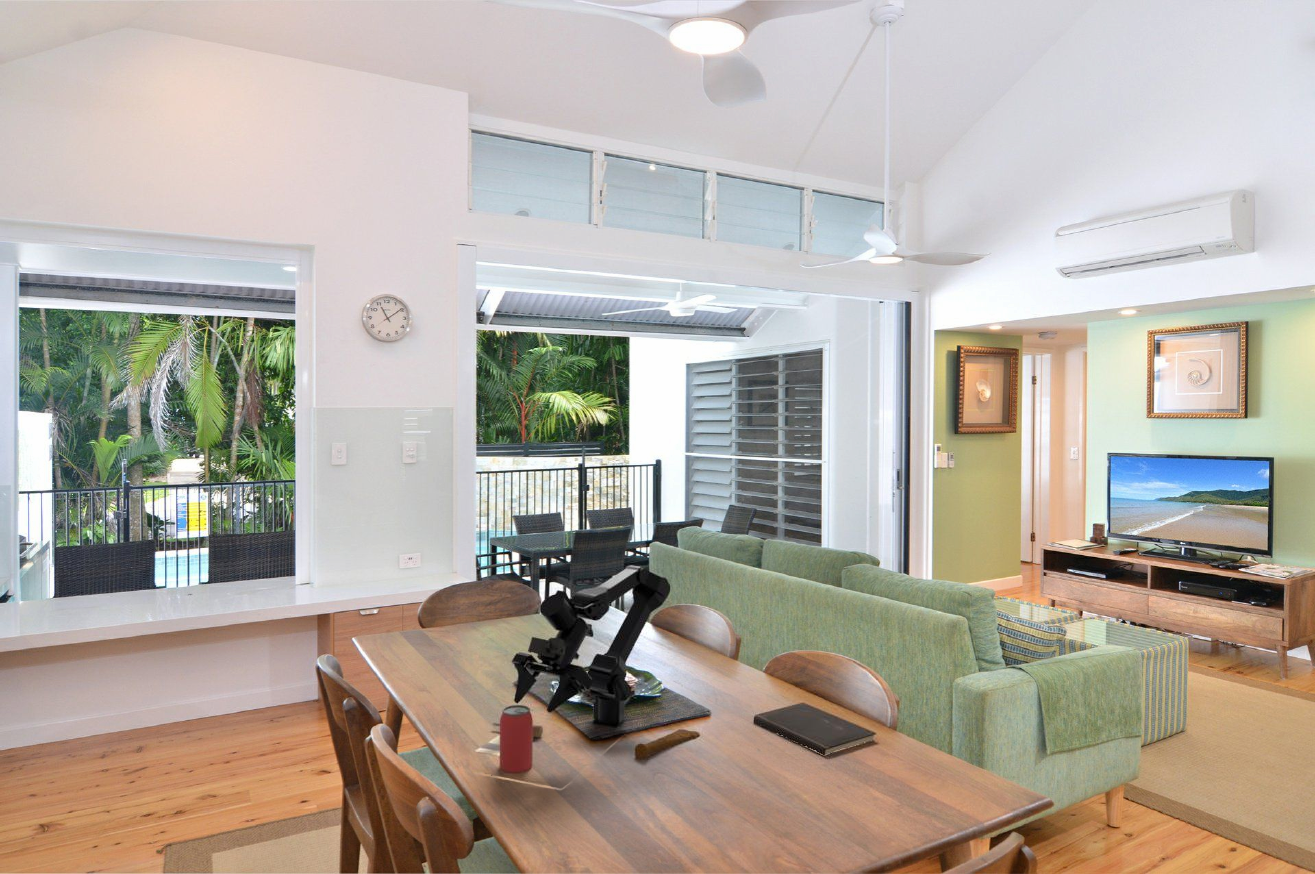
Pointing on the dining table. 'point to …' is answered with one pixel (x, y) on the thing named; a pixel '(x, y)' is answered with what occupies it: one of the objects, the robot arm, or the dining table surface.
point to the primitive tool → (664, 743)
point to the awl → (536, 730)
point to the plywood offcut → (491, 747)
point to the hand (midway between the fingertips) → (531, 706)
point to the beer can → (516, 739)
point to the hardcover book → (814, 728)
